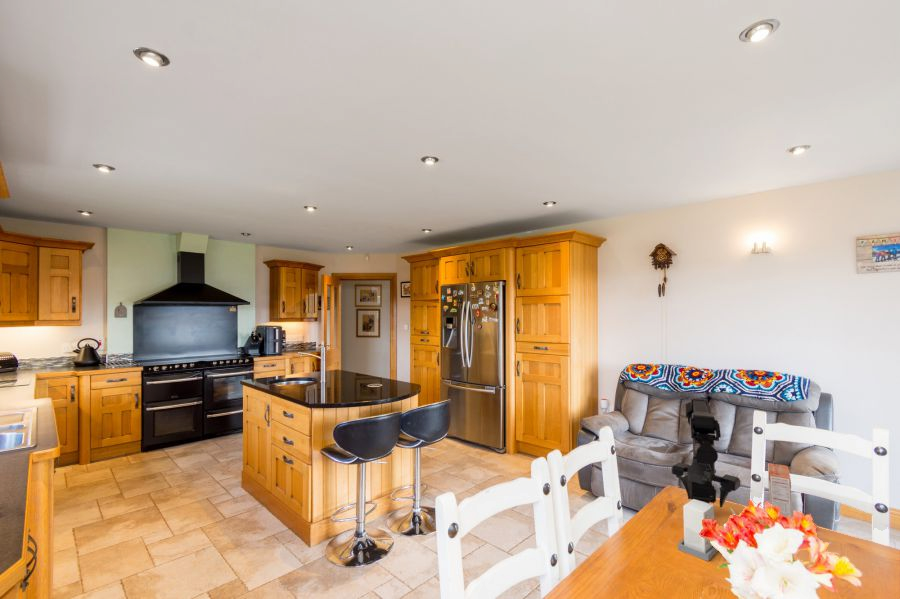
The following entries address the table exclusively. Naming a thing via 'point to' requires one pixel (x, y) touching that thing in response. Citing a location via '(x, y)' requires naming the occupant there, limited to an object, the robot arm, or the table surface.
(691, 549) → the tray
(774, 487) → the cracker box
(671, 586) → the table surface
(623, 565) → the table surface
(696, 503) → the small box
